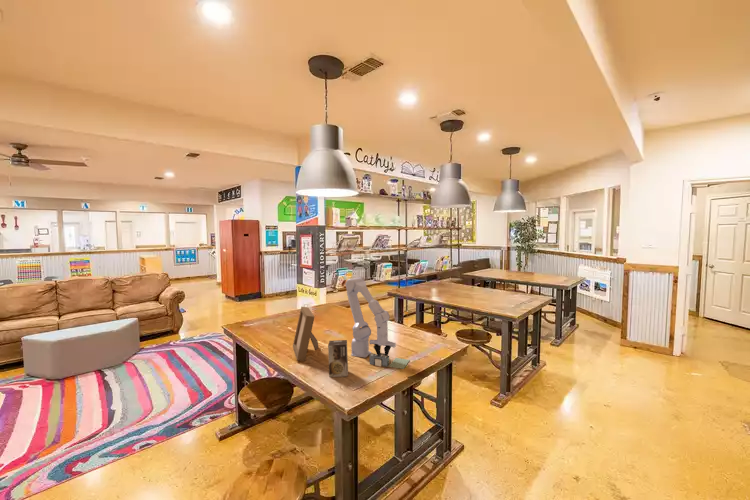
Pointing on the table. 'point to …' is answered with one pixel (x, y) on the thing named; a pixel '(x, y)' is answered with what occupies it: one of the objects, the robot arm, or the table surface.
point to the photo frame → (304, 334)
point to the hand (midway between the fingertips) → (382, 358)
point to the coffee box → (338, 358)
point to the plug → (379, 361)
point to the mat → (399, 363)
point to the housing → (384, 358)
